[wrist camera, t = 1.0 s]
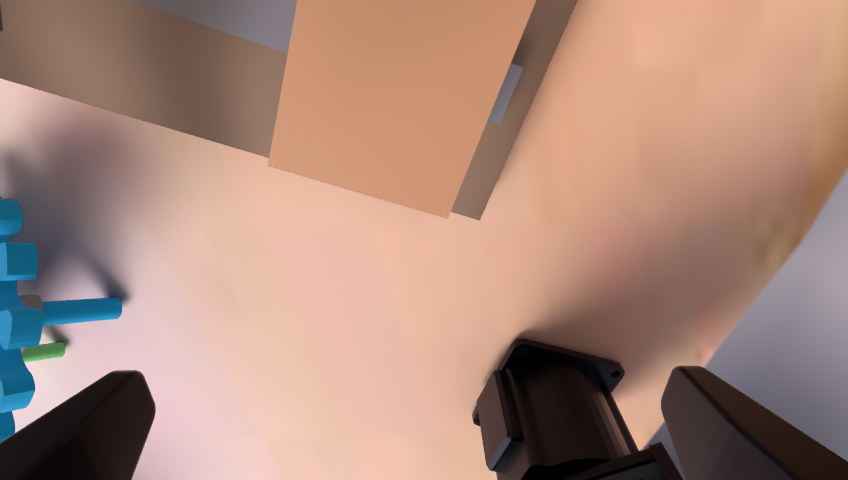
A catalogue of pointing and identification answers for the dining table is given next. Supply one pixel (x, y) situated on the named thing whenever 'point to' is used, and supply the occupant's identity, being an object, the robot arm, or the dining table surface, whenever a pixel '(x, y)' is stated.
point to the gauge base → (225, 68)
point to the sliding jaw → (393, 93)
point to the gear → (30, 318)
